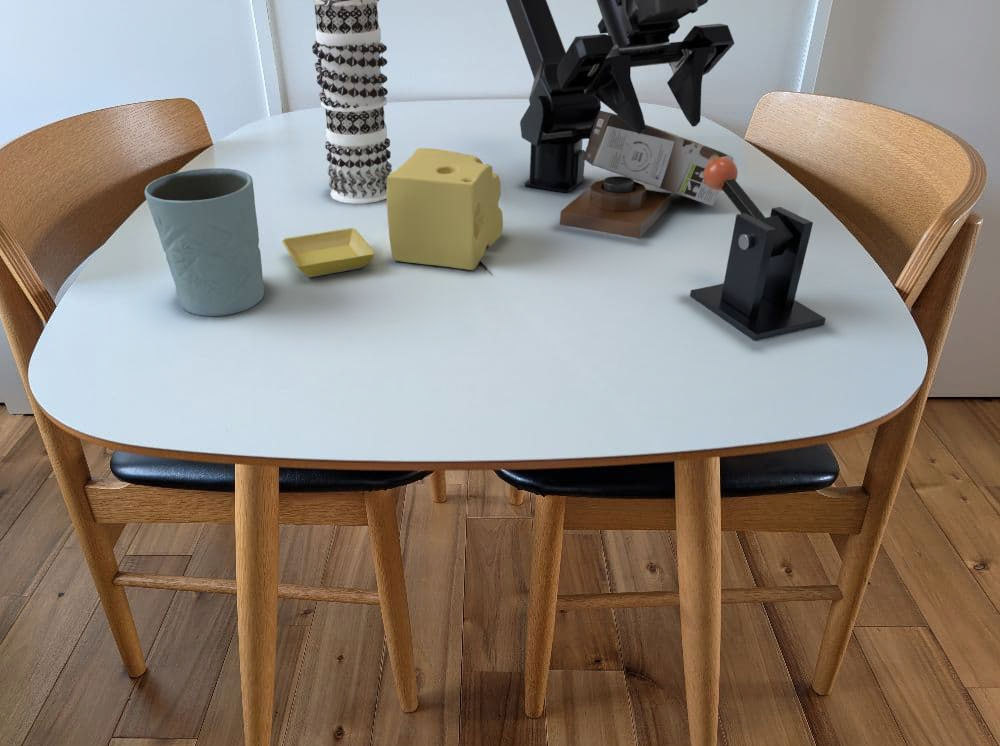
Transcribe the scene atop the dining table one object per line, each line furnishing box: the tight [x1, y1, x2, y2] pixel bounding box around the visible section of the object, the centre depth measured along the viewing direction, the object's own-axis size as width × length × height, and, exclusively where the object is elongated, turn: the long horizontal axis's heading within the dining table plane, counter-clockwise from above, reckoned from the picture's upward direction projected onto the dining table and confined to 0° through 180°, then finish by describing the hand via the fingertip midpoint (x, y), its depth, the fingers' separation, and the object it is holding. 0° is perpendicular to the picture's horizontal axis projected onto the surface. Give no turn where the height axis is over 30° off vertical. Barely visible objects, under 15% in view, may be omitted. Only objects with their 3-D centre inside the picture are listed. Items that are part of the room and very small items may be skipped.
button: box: [603, 175, 635, 194], centre depth 97 cm, size 4×4×2 cm
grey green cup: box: [144, 167, 265, 317], centre depth 80 cm, size 10×10×12 cm
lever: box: [703, 157, 794, 257], centre depth 76 cm, size 12×3×3 cm, turn 21°
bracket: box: [689, 206, 827, 342], centre depth 75 cm, size 10×8×10 cm
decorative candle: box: [311, 0, 393, 205], centre depth 102 cm, size 9×9×25 cm
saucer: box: [281, 227, 376, 278], centre depth 89 cm, size 9×9×2 cm
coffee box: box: [583, 110, 735, 207], centre depth 100 cm, size 9×6×16 cm
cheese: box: [386, 147, 504, 271], centre depth 90 cm, size 10×11×10 cm
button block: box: [559, 179, 672, 239], centre depth 99 cm, size 10×12×4 cm
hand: (669, 128), depth 84 cm, fingers open, 6 cm apart
